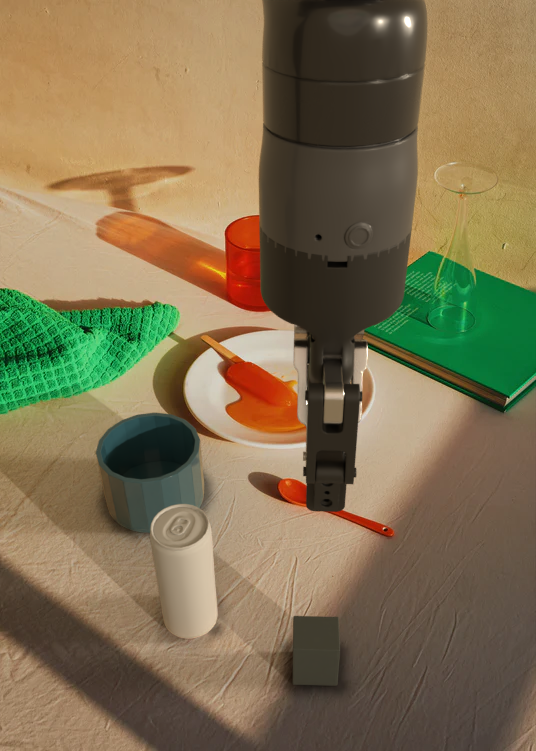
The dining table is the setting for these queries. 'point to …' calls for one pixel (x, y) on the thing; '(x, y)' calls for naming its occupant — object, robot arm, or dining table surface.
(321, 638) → the dark gray rectangular block
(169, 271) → the dining table surface
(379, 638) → the dining table surface
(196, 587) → the beverage can
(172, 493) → the teal round container
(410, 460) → the dining table surface
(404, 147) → the robot arm
